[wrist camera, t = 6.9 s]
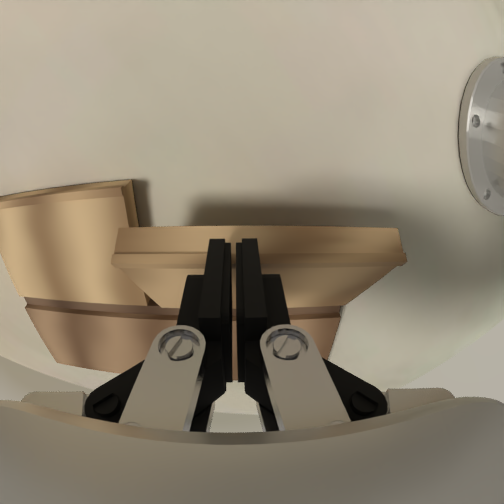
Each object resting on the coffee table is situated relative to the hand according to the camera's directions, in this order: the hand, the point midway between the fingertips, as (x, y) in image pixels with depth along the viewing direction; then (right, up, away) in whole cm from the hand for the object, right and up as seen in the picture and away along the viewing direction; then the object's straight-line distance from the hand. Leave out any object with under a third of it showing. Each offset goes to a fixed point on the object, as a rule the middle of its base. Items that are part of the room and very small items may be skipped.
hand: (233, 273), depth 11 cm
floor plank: (-6, -6, +11) cm, 14 cm away
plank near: (+1, 0, +4) cm, 4 cm away
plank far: (-12, +2, +6) cm, 14 cm away
